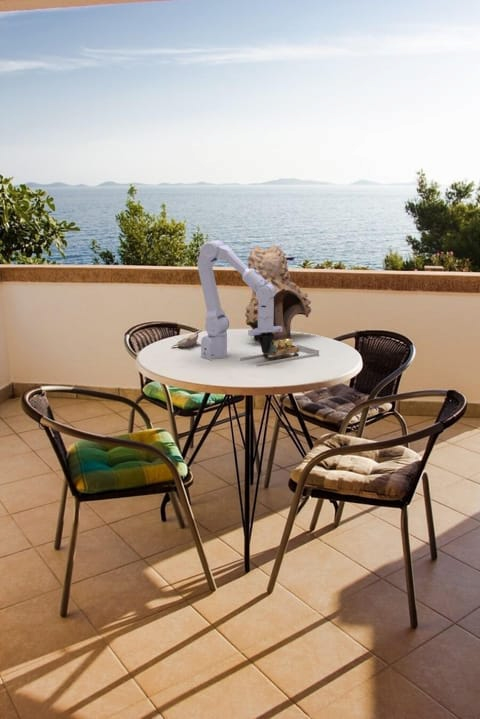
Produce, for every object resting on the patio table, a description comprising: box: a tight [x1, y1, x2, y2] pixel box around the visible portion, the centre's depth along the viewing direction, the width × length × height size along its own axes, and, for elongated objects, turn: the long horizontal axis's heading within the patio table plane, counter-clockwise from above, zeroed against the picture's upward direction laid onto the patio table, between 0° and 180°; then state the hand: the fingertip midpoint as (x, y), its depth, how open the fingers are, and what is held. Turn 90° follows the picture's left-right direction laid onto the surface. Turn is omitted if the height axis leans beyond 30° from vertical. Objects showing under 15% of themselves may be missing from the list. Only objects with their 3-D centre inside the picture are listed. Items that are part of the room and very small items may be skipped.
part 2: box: [277, 339, 285, 350], centre depth 250 cm, size 3×3×4 cm
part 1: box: [271, 340, 278, 350], centre depth 248 cm, size 3×3×4 cm
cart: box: [262, 344, 300, 360], centre depth 250 cm, size 12×9×6 cm
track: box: [239, 343, 320, 367], centre depth 251 cm, size 29×12×3 cm, turn 126°
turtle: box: [171, 329, 202, 348], centre depth 272 cm, size 16×10×10 cm, turn 3°
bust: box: [244, 244, 312, 341], centre depth 281 cm, size 34×18×40 cm, turn 130°
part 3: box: [284, 337, 293, 349], centre depth 252 cm, size 3×3×4 cm
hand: (265, 352), depth 246 cm, fingers closed
